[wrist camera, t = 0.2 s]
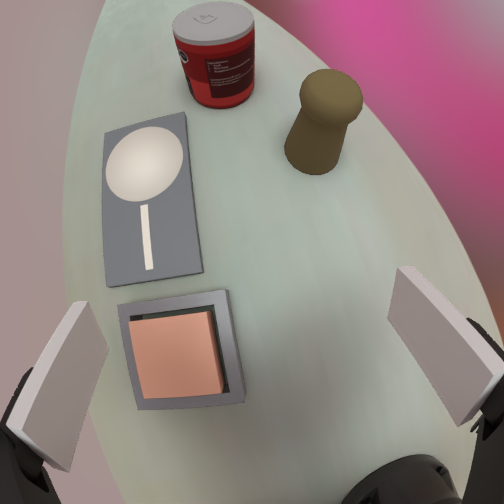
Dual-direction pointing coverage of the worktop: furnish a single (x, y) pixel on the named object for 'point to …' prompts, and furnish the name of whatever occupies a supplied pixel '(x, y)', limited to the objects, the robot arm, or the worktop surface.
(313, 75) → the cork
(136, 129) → the slate board
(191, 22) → the canned food
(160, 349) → the button
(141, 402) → the button housing
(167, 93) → the worktop surface
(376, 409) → the worktop surface
